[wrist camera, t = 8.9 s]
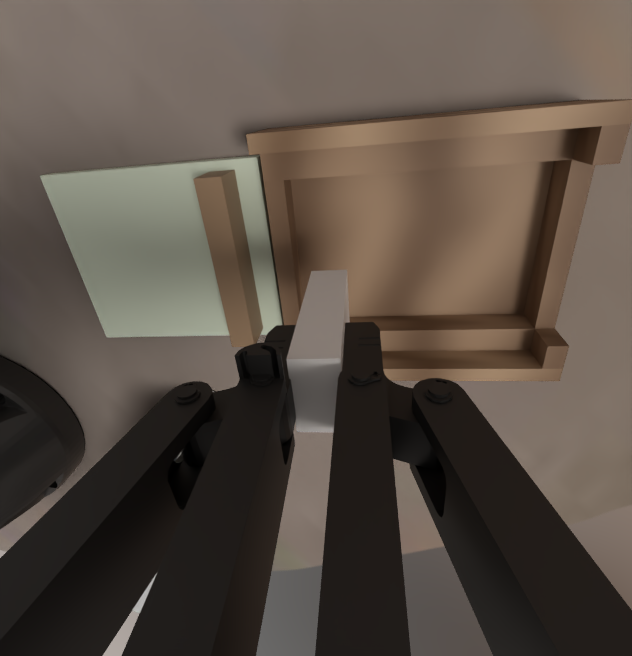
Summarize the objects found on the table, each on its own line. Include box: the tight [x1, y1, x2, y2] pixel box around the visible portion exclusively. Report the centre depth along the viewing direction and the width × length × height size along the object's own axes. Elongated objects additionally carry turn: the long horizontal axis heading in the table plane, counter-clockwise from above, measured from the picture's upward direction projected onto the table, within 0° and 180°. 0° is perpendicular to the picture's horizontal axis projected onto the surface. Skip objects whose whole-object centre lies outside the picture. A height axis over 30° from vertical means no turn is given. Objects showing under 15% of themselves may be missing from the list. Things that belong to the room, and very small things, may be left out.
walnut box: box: [246, 99, 632, 381], centre depth 20 cm, size 15×13×4 cm
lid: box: [40, 155, 284, 347], centre depth 23 cm, size 13×11×4 cm
